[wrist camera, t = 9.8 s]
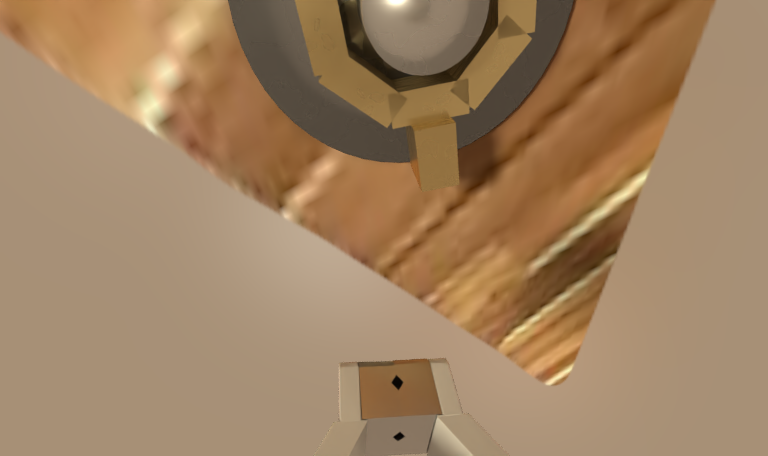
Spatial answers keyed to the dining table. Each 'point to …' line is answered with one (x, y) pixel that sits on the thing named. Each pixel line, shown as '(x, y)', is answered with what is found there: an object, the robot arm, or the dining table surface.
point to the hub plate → (387, 63)
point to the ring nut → (419, 82)
